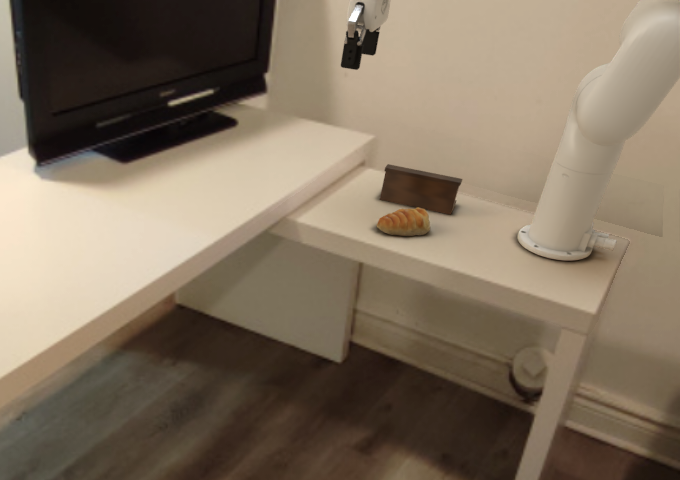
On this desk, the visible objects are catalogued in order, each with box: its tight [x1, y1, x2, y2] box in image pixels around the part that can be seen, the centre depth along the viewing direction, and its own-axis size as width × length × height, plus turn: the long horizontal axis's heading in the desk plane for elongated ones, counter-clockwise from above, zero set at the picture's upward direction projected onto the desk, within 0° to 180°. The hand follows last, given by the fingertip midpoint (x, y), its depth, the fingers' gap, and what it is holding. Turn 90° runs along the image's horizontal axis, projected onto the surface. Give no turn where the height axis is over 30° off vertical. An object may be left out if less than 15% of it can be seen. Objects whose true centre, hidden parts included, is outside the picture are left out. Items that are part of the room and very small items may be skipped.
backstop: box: [379, 163, 463, 215], centre depth 156 cm, size 14×5×7 cm, turn 62°
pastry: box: [376, 207, 431, 237], centre depth 148 cm, size 9×7×4 cm
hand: (358, 61), depth 140 cm, fingers open, 9 cm apart
